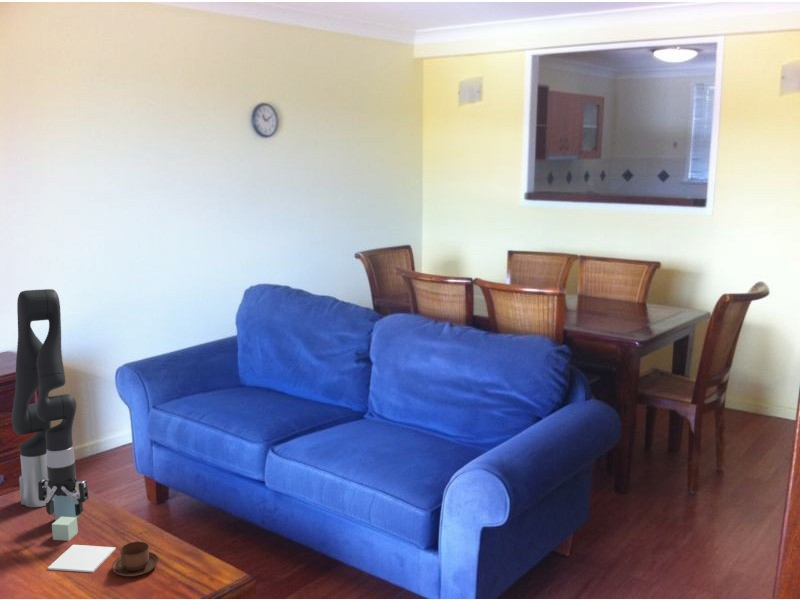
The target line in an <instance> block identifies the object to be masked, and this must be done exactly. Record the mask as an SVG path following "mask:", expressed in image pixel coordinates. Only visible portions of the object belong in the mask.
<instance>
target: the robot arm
mask: <svg viewBox="0 0 800 600" xmlns="http://www.w3.org/2000/svg"><path fill="white" fill-rule="evenodd" d="M16 308H17V309H16V311H17V312H16V313H17V345H16V347H17V348H16V359H15V360H16V361H15V389H14V397H13V404H12V405H13V406H12V409H11V410H12V412H11V426H12V430H13V431H14V433H15V434H17V435H19V436H21V435H22V436H23V435H28V434H33V436H31V437H29V438H28V439H27V440H25V441H24V442H22V443H21V444H20V445H19V456H20V466H21V467H20V468H21V469H20V470H21V475H20V476H19V478H18V482H19V492H20V503H21V505H24V506H25V507H27V508H41V507H44V506H45V509H46V513H47V515H49V516H51V515H53V514H55V509H54V496H55V495H57V496H61V495H62V496H68V497H69V498H70V499H72V500H73V501H74V502H75V515H76V516H79V515H80V516H81V514H82V513H83V511H84V504H83V503H85V502H86V501H87V500H88V499H90V497H89V490H88V483H87V480H86V479H84V480H82V481H77V478H76V479H75V476H76V477H77V473H76V472H77V471H76V459H75V450H74V445H73V424H74V419H75V416H76V411H77V401H76V398H75V397H74V396H73V395H72V394H69V393H65V394H59V395H58V394H57V395H52V396H49V393H50V392H52V391H53V390H56V389H60V388H62V387H63V386H64V385H65V384H66V374H65V369H64V363H63V355H62V354H63V353H62V352H63V351H62V322H61V321H62V320H61V319H62V317H61V316H62V315H61V302H60V298H59V295H58V292H57V291H56V290H55V289H53V288H52V289H51V288H47V289H46V288H45V289H29V290H26V289H25V290H23V291H20V293H19V294H18V297H17V305H16ZM36 321H37V322H38V321H48V332H47V335H46V337H45V340H44V341H43V342H42V341H41V340H40V338H38V336H37V335H36V334H35V331H34V330H33V328H32V326H31V323H32V322H36ZM37 391H38V398H37V402H34V403H30V402H31V399H32V398H33V396H34V395H35V393H36V392H37ZM59 420H61V422H60V423H58V424H57V425H54V426H52V421H59ZM76 486H77V487H78V490H77V489H76ZM72 492H73V493H74V494H72Z"/></svg>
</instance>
